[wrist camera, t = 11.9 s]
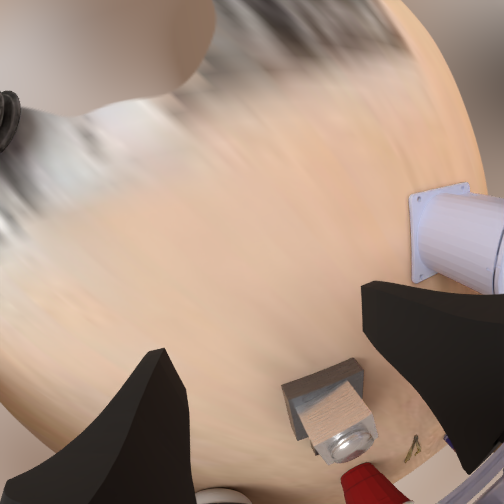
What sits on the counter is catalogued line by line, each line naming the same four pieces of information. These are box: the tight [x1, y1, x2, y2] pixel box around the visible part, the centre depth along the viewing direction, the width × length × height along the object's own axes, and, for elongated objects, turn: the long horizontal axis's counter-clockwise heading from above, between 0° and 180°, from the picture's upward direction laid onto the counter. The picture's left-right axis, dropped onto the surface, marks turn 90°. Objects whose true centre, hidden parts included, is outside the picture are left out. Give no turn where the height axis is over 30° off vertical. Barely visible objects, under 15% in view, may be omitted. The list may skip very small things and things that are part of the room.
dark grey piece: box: [281, 358, 364, 456], centre depth 22 cm, size 7×13×5 cm, turn 13°
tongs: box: [405, 435, 421, 463], centre depth 34 cm, size 4×13×2 cm, turn 28°
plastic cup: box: [341, 463, 414, 504], centre depth 26 cm, size 11×11×12 cm
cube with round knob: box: [295, 380, 378, 465], centre depth 18 cm, size 5×5×6 cm
